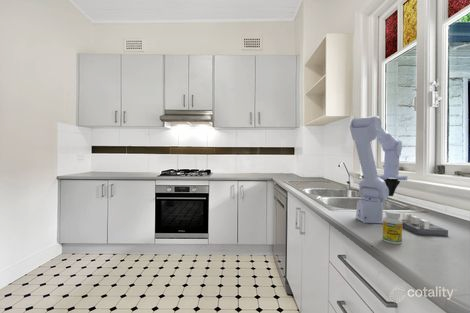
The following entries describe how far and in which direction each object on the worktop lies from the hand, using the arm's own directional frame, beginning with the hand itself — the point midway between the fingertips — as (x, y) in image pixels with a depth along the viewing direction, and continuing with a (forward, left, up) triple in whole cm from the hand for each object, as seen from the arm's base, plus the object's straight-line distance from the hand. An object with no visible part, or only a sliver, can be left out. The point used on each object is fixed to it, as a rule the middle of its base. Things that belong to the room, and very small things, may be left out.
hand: (390, 195), depth 115 cm
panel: (+1, -19, -9) cm, 22 cm away
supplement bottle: (-18, -34, -10) cm, 40 cm away
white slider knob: (-1, -19, -7) cm, 21 cm away
